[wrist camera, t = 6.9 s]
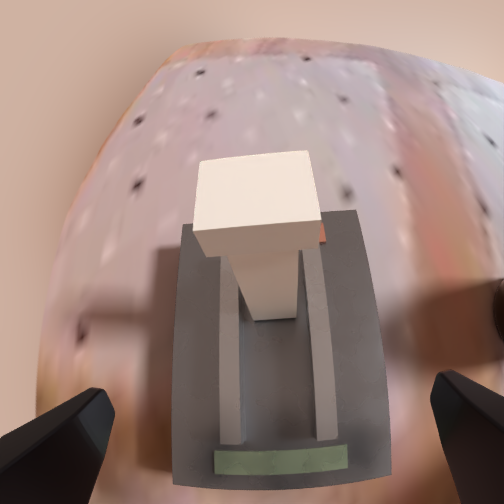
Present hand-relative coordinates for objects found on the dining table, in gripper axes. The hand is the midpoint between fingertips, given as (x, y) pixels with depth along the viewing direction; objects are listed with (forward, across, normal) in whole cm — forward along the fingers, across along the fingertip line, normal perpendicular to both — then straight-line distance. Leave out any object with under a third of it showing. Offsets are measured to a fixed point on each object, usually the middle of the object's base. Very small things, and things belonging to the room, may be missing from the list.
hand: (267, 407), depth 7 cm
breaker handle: (+11, 0, +2) cm, 11 cm away
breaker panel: (+11, 0, +6) cm, 13 cm away
